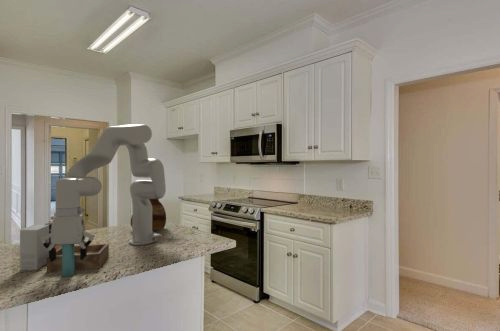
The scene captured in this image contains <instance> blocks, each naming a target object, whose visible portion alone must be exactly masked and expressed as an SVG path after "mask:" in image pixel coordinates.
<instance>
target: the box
mask: <svg viewBox="0 0 500 331" xmlns="http://www.w3.org/2000/svg"><path fill="white" fill-rule="evenodd" d="M80 249H81V246H80V245H79V244H78V245H77V244H76V245H74V265H75V270H89V269H90V270H91V269H100V268H101V267H102V265H103V264H104V263H105V262H106V260H107V259H108V258H109V255H110V254H109V243H102V244H101V243H99V244H89V245H88V246H87V255H86V257H85V258H84V259H83V260H80ZM49 272H62V247H60V248H59V249H57V250H56V259H55V260H54V261H53V262H50V259H49V256H47V264H46V273H49Z"/></svg>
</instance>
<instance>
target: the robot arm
mask: <svg viewBox="0 0 500 331" xmlns="http://www.w3.org/2000/svg"><path fill="white" fill-rule="evenodd" d="M152 136H153V132H152V129H151V127H149V125H147V124H122V125H114V126H113V125H112V126H107V127H106V128H104V129H103V131H102V132H101V134H100V136H99V138H98V139H97V141H96V143H95V144H94V146H93V147H92V149H91V151H89V153H88V154H86V155H84V156H83V157H81V158H80V159H79V160H78V161H76V162H75V163H74V164H72V165H71V166H70V168H69V169H68V171H67V172H66V174H65V176H64V178H63V177H62V178H58V179H56V181H55V212H56V216H53V218H52V222H51V223H52V228H51V233H50V234H48V235H46V236H44V237H42V238H40V240H41V242H42V243H43V246H45V247H46V248H47V250H48V251H49V259H50V262H53V261H54V260H55V259H56V248H55V246H56V245H64V244H74V245H77V244H78V245H80V246H81V249H80V260H83V259H84V258H85V257H86V255H87V246H88V245H91V244H92V242H93V240H94V238H95V234H92V233H90V232H89V231H87V230H86V227H85V226H86V225H85V218H84V216H83V213H85V208H81V197H94V196H97V195H98V194H99V193H100V192H101V191H102V187H103V185H102V182H101V180H100V179H98V178H97V177H93V176H87V175H88V174H89V173H90V172H93V171H95V170H97V169H99V168H102V167H104V166H107V165H109V164H110V163H112V161H113V159H114V157H115V155H116V153H117V152H118V150H119V148H120V146H125V147H126V149H127V150H128V156H129V163H130V170H131V174H132V176H133V177H134V178H139V179H136V180H134V181H133V182H132V183H131V184H130V186H129V191H130V197H131V204H132V206H131V208H132V210H131V211H132V215H131V217H132V226H131V228H132V232H131V234H132V238H130V239H129V241H128V244H130V245H132V246H143V245H144V246H145V245H150V244H153V243H154V242H156V239H161V238H162V234H161V233H155V232H154V231H152V204H151V202H150V200H149V199H158V200H161V199H162V198H164V197H165V194H166V178H165V168H164V164H163V162H162V161H161V160H160V159H157V158H150V157H149V155H148V149H147V146H146V143H148V142H149V141H150V140H151V139H152ZM141 178H142V179H141ZM144 178H145V179H144ZM147 178H148V179H147ZM50 237H51V244H50V243H49V242H48V241H47V239H48V238H50ZM86 237H87V238H88V239H87V241H86Z"/></svg>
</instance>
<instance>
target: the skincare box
mask: <svg viewBox="0 0 500 331" xmlns="http://www.w3.org/2000/svg"><path fill="white" fill-rule="evenodd" d="M48 234H49V225H44V224H32V225H30V226H27V227H24V228H22V229H20V230H19V271H37V270H39V269H41V268H43V267H44V266H47V256H49V251H48V250H47V248H46V247H45V246H43V243H42V242H41V240H40V238H42V237H44V236H46V235H48ZM47 241H48V242H49V238H48V239H47Z"/></svg>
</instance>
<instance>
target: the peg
mask: <svg viewBox="0 0 500 331" xmlns="http://www.w3.org/2000/svg"><path fill="white" fill-rule="evenodd" d="M74 246H75V244H64V245H62V271H61V275H62V276H61V277H63V278H67V277H72V276H74V275H75V273H76V272H75V265H74Z"/></svg>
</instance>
